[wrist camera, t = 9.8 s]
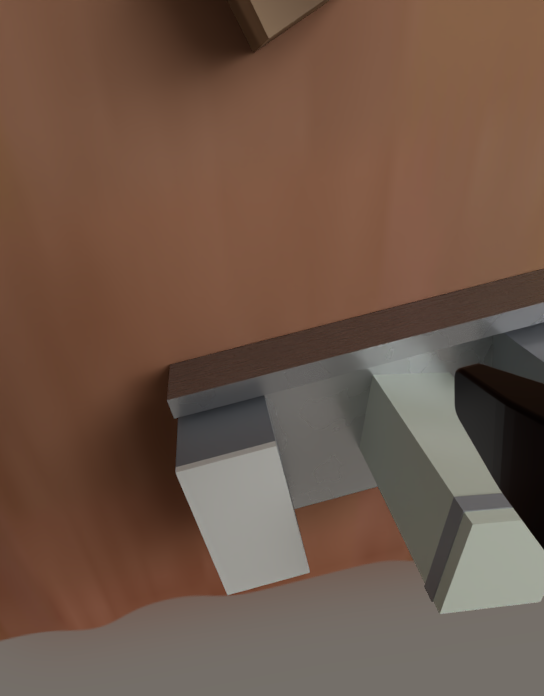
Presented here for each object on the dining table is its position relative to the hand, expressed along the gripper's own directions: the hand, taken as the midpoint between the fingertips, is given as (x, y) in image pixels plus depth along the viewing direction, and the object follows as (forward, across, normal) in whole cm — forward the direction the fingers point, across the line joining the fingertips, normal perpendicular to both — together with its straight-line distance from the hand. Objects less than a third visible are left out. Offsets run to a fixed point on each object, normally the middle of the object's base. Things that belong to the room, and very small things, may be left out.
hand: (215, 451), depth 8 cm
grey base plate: (+13, -6, +10) cm, 18 cm away
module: (+11, +1, +10) cm, 16 cm away
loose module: (+12, -8, +10) cm, 17 cm away
